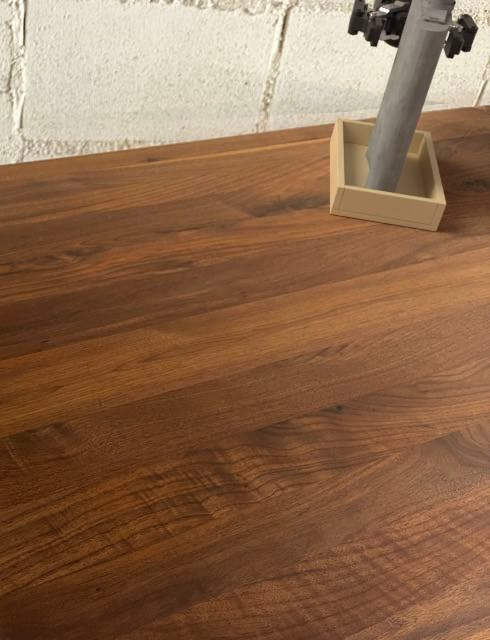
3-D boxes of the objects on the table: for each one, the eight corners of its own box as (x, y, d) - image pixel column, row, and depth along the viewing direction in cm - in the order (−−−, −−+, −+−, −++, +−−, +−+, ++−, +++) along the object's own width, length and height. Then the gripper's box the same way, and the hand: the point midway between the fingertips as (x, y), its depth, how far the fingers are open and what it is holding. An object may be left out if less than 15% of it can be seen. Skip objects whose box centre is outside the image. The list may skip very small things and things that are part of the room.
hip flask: (365, 150, 110) (422, -37, 96) (398, 156, 109) (460, -31, 95) (360, 201, 99) (423, -2, 85) (397, 209, 98) (466, 5, 84)
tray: (421, 157, 112) (430, 131, 109) (436, 231, 96) (446, 204, 94) (329, 142, 113) (336, 117, 110) (329, 214, 97) (337, 186, 95)
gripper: (357, -38, 108) (361, -5, 97) (475, -21, 107) (493, 14, 95) (340, 30, 113) (341, 69, 102) (452, 47, 112) (466, 88, 101)
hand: (415, 42), depth 99 cm, fingers open, 8 cm apart
